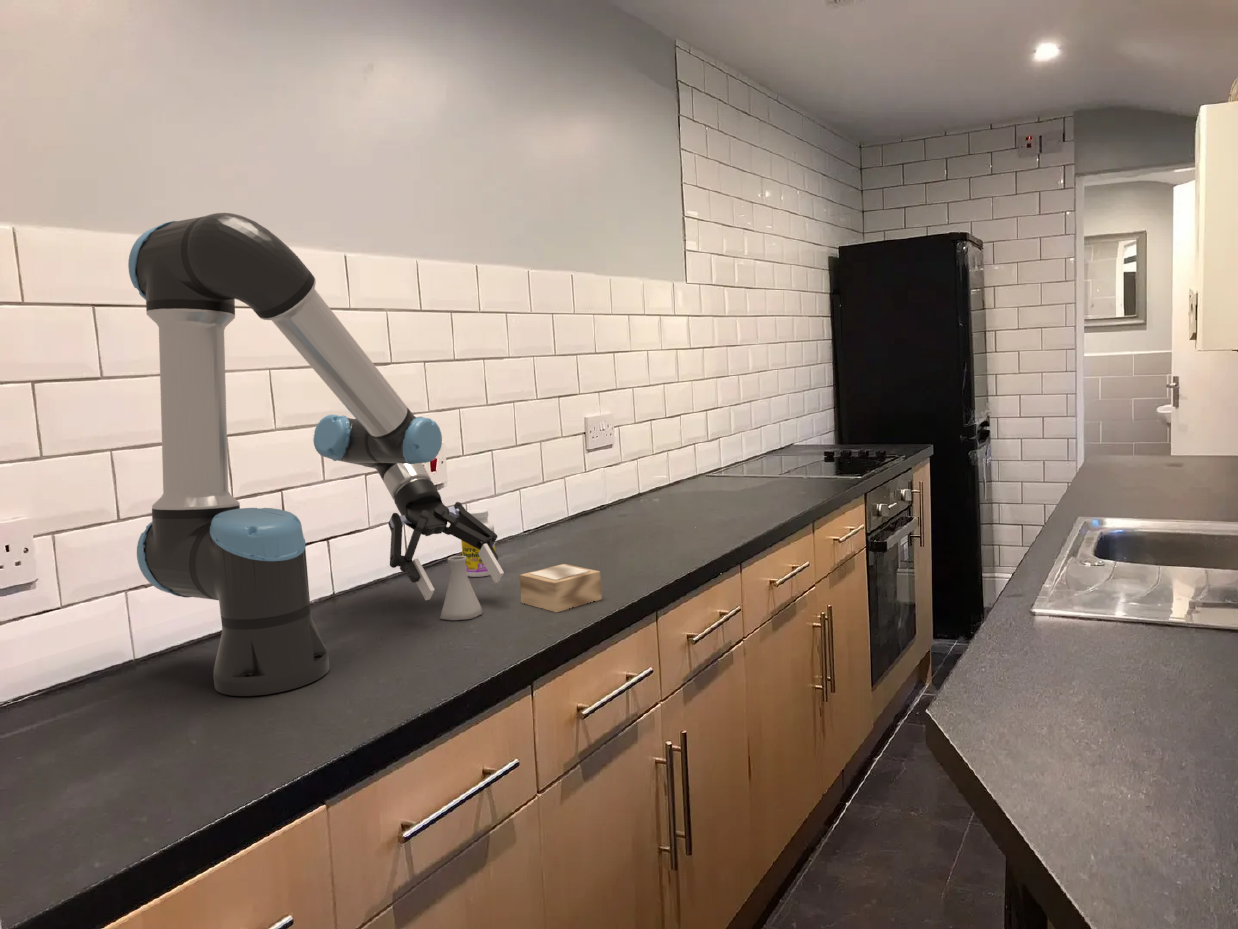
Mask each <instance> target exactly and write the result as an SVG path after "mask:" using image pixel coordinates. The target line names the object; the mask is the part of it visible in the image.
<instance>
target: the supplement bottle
mask: <svg viewBox="0 0 1238 929" xmlns="http://www.w3.org/2000/svg"><path fill="white" fill-rule="evenodd" d="M488 510H489V509H486V508H475V509H468V510H466V511H467V512H469V513H470V514H471V515H472V516H474V517H475V518H476V519H478V520H479V521H480V522H481V523H483V524H484V525H485V526H486V527H488V528H489V529H490V530H492V531H493V532H494V533H495V526H494V524H493V523H492V522H490V521H488V517H489V511H488ZM460 543H461V553H462V554H461V556H466V561H465V567H466V572H467V575H468V577H470V578H471V577H472V578H479V577H481V578H482V577H488V576H491V575H490V574H489V572H488V570H487V568H486V567H485V565H484V563H483V561H482V560H481V558H480V556H479V554H478V553H479V551H480V550H479V549H477V548H475V547H473V546H471V545H470V544H468V543H466V542H464V541H462V540H461V542H460ZM481 543H482V542H481ZM492 547H493V549H494V550H495V552H496V551H497V550H496V541H495V542H494V544H493V546H492ZM496 553H497V552H496Z"/></svg>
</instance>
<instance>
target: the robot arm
mask: <svg viewBox="0 0 1238 929" xmlns="http://www.w3.org/2000/svg"><path fill="white" fill-rule="evenodd" d="M127 266H128V274H129V278H130V281H131V283H132V285H133V288H135V289H136V290H137V291H138V293H139V294H138V295H140V297H141V298H143V299H144V300H145V309H146V310H145V311H146V313H145V314H146V316H148V318H149V319H151V320H152V321H153V322H154V323H155V324H156V325H157V327H158V343H159V344H158V345H159V346H158V348H159V382H160V383H159V385H160V387H159V388H160V416H161V417H160V418H161V425H160V426H161V450H162V451H161V454H162V455H161V457H162V485H163V486H162V491H163V492H162V495H161V497H160V498H158V499H157V500H156V501H155V502H154V503H153V504H152V506H151V514H152V515H151V521H150V523H148V524H147V526H146V527H145V529H144V531H143V532H141V533H140V536H139V538H138V540H137V544H136V559H137V564H138V567H139V570H140V572H141V573H142V576H143V577H144V579H146V581H148V583H149V584H151V585H152V586H153V587H155V589H158V590H160V591H161V592H165V593H168V594H171V595H173V596H177V597H182V598H197V599H199V598H200V599H204V600H205V599H206V600H214V601H218V602H219V612H220V620H221V628H222V630H221V636H220V640H219V645H218V648H217V653H216V657H215V661H214V666H213V669H212V671H213V672H212V674H213V676H212V677H213V684H214V686H213V687H214V689H215V691H216V692H218V693H220V694H223V695H227V696H234V697H255V696H264V695H265V696H266V695H272V694H278V693H283V692H287V691H290V690H295V689H297V688H301V687H303V686H306V685H309V684H312V683H313V682H316V681H318V680H320V679H322V677H324V676H325V675H326V674H328V672H329V670H330V660H329V658H330V657H329V653H328V650H327V648H326V645H325V643H324V641H323V639H322V637H321V635H320V633H319V630H318V629H317V626H316V624H315V622H314V620H313V618H312V612H311V611H312V610H311V609H312V608H311V601H310V600H311V599H310V598H311V597H310V588H309V587H310V586H309V577H308V565H307V564H308V563H307V553H306V552H307V550H306V547H307V546H306V539H305V536H304V533H303V527H302V523H301V520H300V519H299V518H298V516H297V515H295V514H294V513H292V512H291V511H289V510H288V511H287V510H284V509H279V508H273V507H272V508H271V507H262V508H259V507H244V508H240V506H241V504H240V501H239V500H238V499H236V498H235V497H234V496H233V495H232V494H231V493H230V491H229V466H228V463H229V461H228V430H227V427H228V426H227V391H226V355H225V354H226V353H225V348H226V347H225V329H226V327H227V326H228V325H229V324H230V323H232V322H233V321H234V319H235V318H236V302H235V300H236V301H237V300H238V301H240V302H242V303H244V304H245V305H247V306H248V307H249V308H250V309H251V310H252V311H253V312H254V313H255V314H256V315H257V316H258V317H259V319H260V320H264V321H272V323H273V324H274V325H275V326H276V328H277V329H278V330H279V331H280V332H281V333H282V335H284V337H285V338H286V339H287V340H288V342H290V344H291V345H292V346H293V347H294V348H295V349H296V351H297V352H298V353H299V354H300V355H301V356H302V358H303V359H304V360H305V361H306V362H307V364H308V365H309V366H310V368H312V369H313V371H314V372H315V373H316V374H317V375H318V376H319V377H320V379H321V380H322V381H323V382H324V383H325V385H326V386H327V387H328V388H329V389H330V391H331V392H332V393H333V394H334V395H335V396H336V397H337V398H338V400H339V401H340V402H341V403H342V404H343V405H344V407H345V408H346V409H347V410H348V411H349V413H350V414H351V415H352V416H353V418H352V417H351V418H350V417H347V416H346V415H338V414H327V415H326V416H324V417H322V418H321V419H320V420H319V421H318V423H317V425H316V426H315V429H314V434H313V446H314V449H315V451H316V452H317V454H319V455H320V456H322V457H323V458H327V459H329V460H332V461H334V462H336V461H339V462H344V463H348V464H353V465H358V466H363V467H365V468H371V469H375V471H377V473H378V474H379V477H380V478H381V480H382V481H383V483H384V486H385V487H386V489H387V490H388V493H389V495H390V496H391V498H392V500H393V501H394V504H395V506H396V508H397V510H398V512H399V513H400V515H399V513H397V512H393V513H392V515H391V516H390V519H389V521H388V524H387V526H388V528H389V529H390V532H391V536H390V552H389V567H391V568H392V569H393V568H394V569H396V568H397V567H399V569H400V571H401V572H405V573H406V575H407V576H408V578H409V580H410V582H412V583H413V584H414V583H416V585H417V587H418V589H419V591H420V593H421V594H422V597H423V598H424V600H425V601H428V600H429V601H430V599H431V598H432V596H433V594H434V592H435V590H436V589H435V587H434V586H433V584H432V582H431V580H430V578H429V576H428V574H427V572H426V570H425V569H424V567H423V564H421V561H420V560H419V558H418V557H417V558H414V555H415V553H416V550H417V548H418V543H419V541H420V538H421V535H423V536H425V537H429V536H430V537H431V535H441V534H444V535H446V536H450V535H451V536H453V537H455V538H457V539H458V540H462V541H464V542H466V543H468V544H470V545H471V546H473V547H475V548H477V549H479V550H480V551H479V553H478V554H479V556H480V558H481V560H482V561H483V563H484V565H485V567H486V568H487V570H488V572H489V574H490V575H489V576H490V577H491V579H492V580H493V582H494V583H495V584H496V583H499V582H500V581H501V579H502V576H504V574H505V572H504V570H503V569H502V566H501V565H500V563H499V562H498V560H499V556H498V554H497V552H495V550H496V549H495V550H494V549H493V547H492V546H493V544H494V542H495V543H496V541H497V538H498V535H497V534H496V533H495V531H494V532H493V531H492V530H490V529H489V528H488V527H486V526H485V525H484V524H483V523H481V522H480V521H479V520H478V519H476V518H475V517H474V516H472V515H471V514H470V513H469V512H467V511H468V510H467V509H466V508H465V507H464V505H463V504H462V503H461V502H459V501H456V502H455V503H454V505H453V506H449V507H448V506H446V505H445V504H444V503H443V500H442V496H441V494H440V492H439V491H438V489H437V487H436V485H435V484H434V482H433V481H432V478H431V476H430V475H429V473H428V471H427V470H426V467H425V466H424V464H426V463H430V462H432V461H434V460H435V458H437V456H438V455H439V452H440V451H441V449H442V445H443V444H442V443H443V435H442V431H441V429H440V426H439V425H438V423H437V422H436V421H435V420H433V419H431V418H429V417H423V416H417V417H416V416H415V415H414V413H413V412H412V411H411V410H410V408H408V406H407V405H406V404H405V402H404V401H403V400H402V398H401V397H400V395H398V393H397V392H396V391H395V389H394V388H393V387H392V385H391V384H390V383H389V382H388V380H387V379H386V377H384V375H383V374H382V373H381V371H380V369H378V367H376V365H375V364H374V362H373V361H372V360H371V358H370V357H369V356H368V354H366V353H365V351H364V350H363V348H362V347H361V346H360V345H359V344H358V342H357V341H356V339H354V337H353V336H352V335H351V333H350V332H349V331H348V330H347V328H346V327H345V325H344V324H343V323H342V321H341V320H340V319H339V318H338V317H337V316H336V314H335V313H334V312H333V310H332V308H330V307H329V305H328V303H326V301H325V300H324V299H323V297H322V296H321V295H320V293H319V292H318V291H317V290H316V283H317V280H316V278H315V276H314V275H313V273H312V272H311V271H310V269H309V268H308V267H307V266H306V265H305V263H304V262H303V261H302V260H301V259H300V257H299V256H298V255H297V254H296V253H295V252H294V251H293V250H292V249H291V248H290V246H288V245H287V244H285V243H284V242H283V241H282V240H281V239H280V238H279V237H278V236H277V235H275V234H274V233H273V232H271V231H270V230H269V229H267V228H266V227H265V226H263V225H261V224H259V223H258V222H257V221H254V220H252V219H251V218H248V217H245V216H243V215H240V214H237V213H231V212H215V213H211V214H208V215H204V216H200V217H199V216H198V217H193V218H187V219H183V220H172V221H166V222H164V223H161V224H159V225H157V226H154V227H152V228H150V229H148V230H146V231H144V232H143V233H142V234H141V235H139V237H138V238H137V239H136V240H135V242H134V244H133V245H132V247H131V248H130V252H129V255H128V264H127ZM448 523H449V526H447V525H448ZM404 525H406V526H407V527H408V528H411V529H412V530H413V531H412V534H411V537H410V538H409V542H408V545H407V548H406V551H405V553H404V555H402V546H403V544H402V543H403V542H402V541H403V527H404ZM481 542H482V543H481ZM413 558H414V559H413Z"/></svg>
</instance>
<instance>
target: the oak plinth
mask: <svg viewBox="0 0 1238 929" xmlns="http://www.w3.org/2000/svg"><path fill="white" fill-rule="evenodd" d="M601 580H602V578H601V571H599V570H595V569H590V568H586V567H580V566H576V565H572V564H567V563H562V564H558V565H553V566H550V567H545V568H541V569H537V570H534V571H530V572H525V573H521V574H519V586H520V587H519V588H520V602H522V603H521V604H524V603H525V605H528V606H531V607H532V606H533V607H536V608H539V609H542V608H543V609H542V610H547V611H550V612H554V613H560V612H563V611H567V610H569V608H570V609H572V607H574V608H576V607H580V606H583V605H584V606H585V605H587V603H588V604H591V603H594V602H593V601H595V602H598V601H601V600H602V598H603V596H602V583H601ZM590 602H591V603H590Z"/></svg>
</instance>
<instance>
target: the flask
mask: <svg viewBox="0 0 1238 929" xmlns="http://www.w3.org/2000/svg"><path fill="white" fill-rule="evenodd" d="M465 561H466V556H462V555H456V556H455V555H453V556H450V557H448V558H447V563H448V564H449V578H448V585H447V589H446V590H447V591H446V592H445V593H446V594H445V597H444V598H445V599H444V602H443V605H442V610H441V612H440V613H441V614H440V618H439V619H441V620H447V621H459V620H460V621H461V620H462V621H463V620H470V619H474V618H476V617H478V616H481V615H482V613H483V608H482V606H481V603H480V602H479V599H478V597H477V595H476V593H475V590H474V589H473V586H472V583H471V581H470V579H469V576H468V575H467V572H466V567H465Z"/></svg>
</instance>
